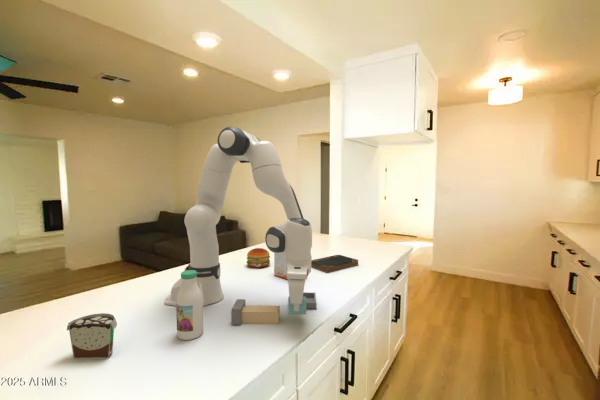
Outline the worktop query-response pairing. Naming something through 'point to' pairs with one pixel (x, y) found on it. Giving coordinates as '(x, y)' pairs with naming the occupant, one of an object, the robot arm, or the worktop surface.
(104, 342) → the food container
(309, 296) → the tray
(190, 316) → the milk bottle
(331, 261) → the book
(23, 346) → the worktop surface
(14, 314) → the worktop surface
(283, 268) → the cracker box
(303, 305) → the stub
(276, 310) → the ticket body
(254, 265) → the burger
